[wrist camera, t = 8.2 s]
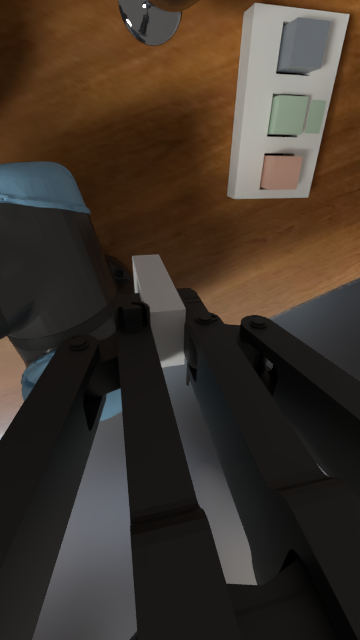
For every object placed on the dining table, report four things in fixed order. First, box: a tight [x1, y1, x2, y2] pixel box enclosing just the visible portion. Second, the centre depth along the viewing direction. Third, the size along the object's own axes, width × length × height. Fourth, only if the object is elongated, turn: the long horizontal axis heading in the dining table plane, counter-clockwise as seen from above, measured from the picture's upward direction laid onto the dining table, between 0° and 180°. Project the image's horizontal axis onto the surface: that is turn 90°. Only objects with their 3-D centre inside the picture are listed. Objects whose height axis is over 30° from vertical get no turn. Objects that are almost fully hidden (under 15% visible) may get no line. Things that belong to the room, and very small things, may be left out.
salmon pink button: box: [260, 155, 303, 190], centre depth 41 cm, size 4×4×3 cm
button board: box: [227, 3, 350, 199], centre depth 39 cm, size 20×12×3 cm, turn 179°
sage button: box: [267, 95, 309, 135], centre depth 39 cm, size 4×4×3 cm
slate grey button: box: [276, 17, 331, 74], centre depth 34 cm, size 4×4×3 cm
